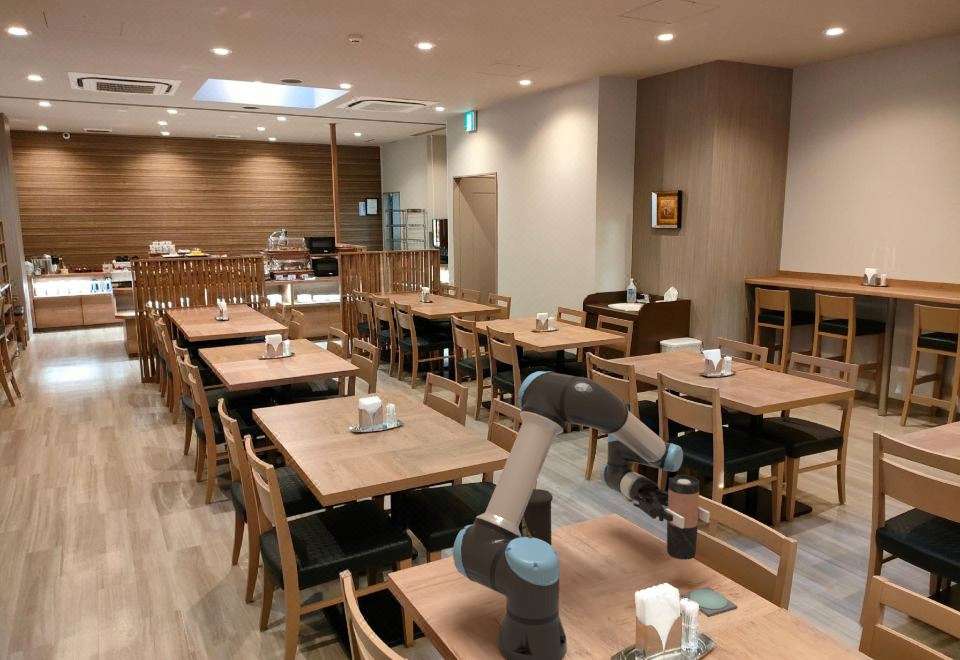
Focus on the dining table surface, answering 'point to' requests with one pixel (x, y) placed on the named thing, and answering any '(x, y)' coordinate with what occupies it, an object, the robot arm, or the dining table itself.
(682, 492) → the travel mug
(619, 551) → the dining table surface
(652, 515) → the robot arm
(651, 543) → the dining table surface
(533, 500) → the container
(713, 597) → the coaster
